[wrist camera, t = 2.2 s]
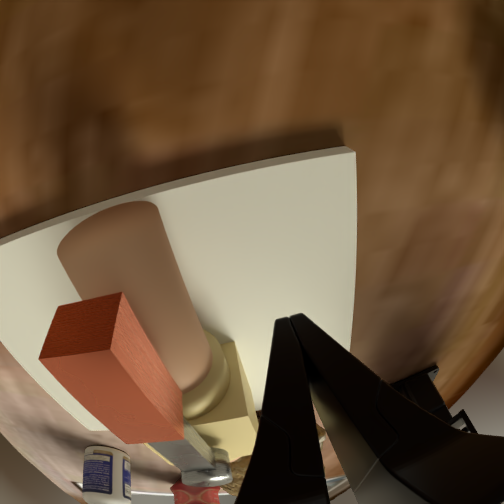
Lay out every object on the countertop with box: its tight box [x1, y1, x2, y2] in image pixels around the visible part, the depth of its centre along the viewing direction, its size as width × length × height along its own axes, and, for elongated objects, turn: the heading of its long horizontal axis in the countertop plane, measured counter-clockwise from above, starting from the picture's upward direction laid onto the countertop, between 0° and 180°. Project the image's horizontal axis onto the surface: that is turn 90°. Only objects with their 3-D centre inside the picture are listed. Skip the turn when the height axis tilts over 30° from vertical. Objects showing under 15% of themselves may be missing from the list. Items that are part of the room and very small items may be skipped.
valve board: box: [0, 146, 357, 465], centre depth 15 cm, size 18×22×6 cm
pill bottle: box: [83, 446, 131, 504], centre depth 23 cm, size 5×5×9 cm
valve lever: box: [38, 292, 233, 487], centre depth 10 cm, size 13×3×2 cm, turn 10°
